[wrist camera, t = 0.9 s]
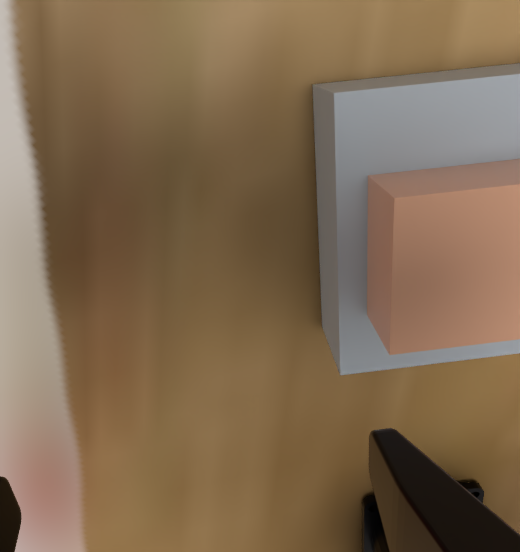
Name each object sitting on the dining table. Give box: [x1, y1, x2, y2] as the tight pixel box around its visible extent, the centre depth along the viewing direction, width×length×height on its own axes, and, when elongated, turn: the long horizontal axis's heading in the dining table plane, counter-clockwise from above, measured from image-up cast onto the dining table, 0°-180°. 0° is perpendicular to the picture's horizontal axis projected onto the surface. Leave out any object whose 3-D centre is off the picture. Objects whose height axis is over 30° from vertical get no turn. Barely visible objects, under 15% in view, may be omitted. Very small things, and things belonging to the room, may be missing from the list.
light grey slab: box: [312, 63, 520, 375], centre depth 18 cm, size 10×12×4 cm
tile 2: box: [367, 159, 520, 355], centre depth 15 cm, size 5×5×2 cm
